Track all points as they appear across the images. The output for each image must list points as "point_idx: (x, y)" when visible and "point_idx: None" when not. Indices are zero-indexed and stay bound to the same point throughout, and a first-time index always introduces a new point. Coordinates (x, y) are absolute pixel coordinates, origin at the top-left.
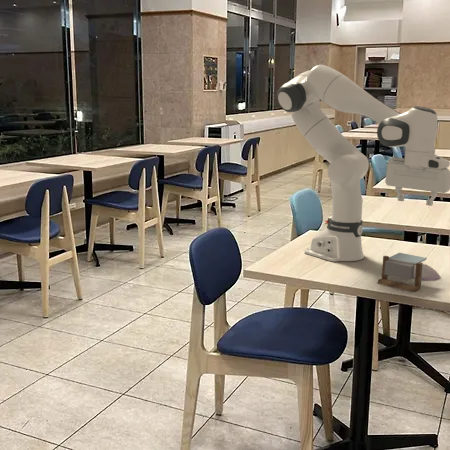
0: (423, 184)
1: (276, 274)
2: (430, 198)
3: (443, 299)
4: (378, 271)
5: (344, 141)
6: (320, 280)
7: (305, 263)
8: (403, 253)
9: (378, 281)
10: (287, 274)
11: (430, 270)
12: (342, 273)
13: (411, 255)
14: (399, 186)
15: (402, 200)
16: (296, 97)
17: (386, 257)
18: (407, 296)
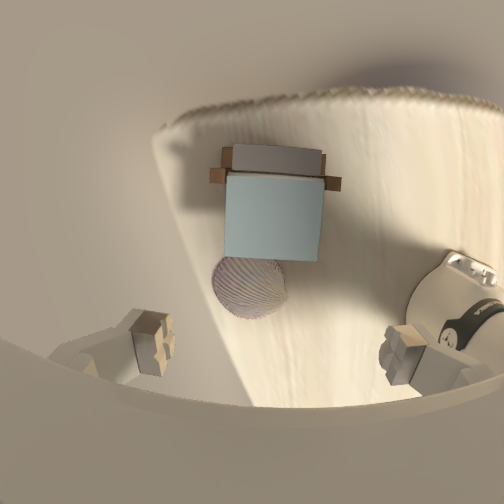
0: (114, 456)
1: (485, 112)
2: (112, 337)
3: (156, 146)
4: (355, 249)
5: None
6: (425, 110)
7: (482, 208)
8: (302, 259)
9: (323, 154)
10: (476, 120)
11: (232, 285)
12: (414, 182)
13: (272, 253)
14: (486, 381)
15: (388, 334)
16: None
17: (329, 176)
18: (227, 110)
